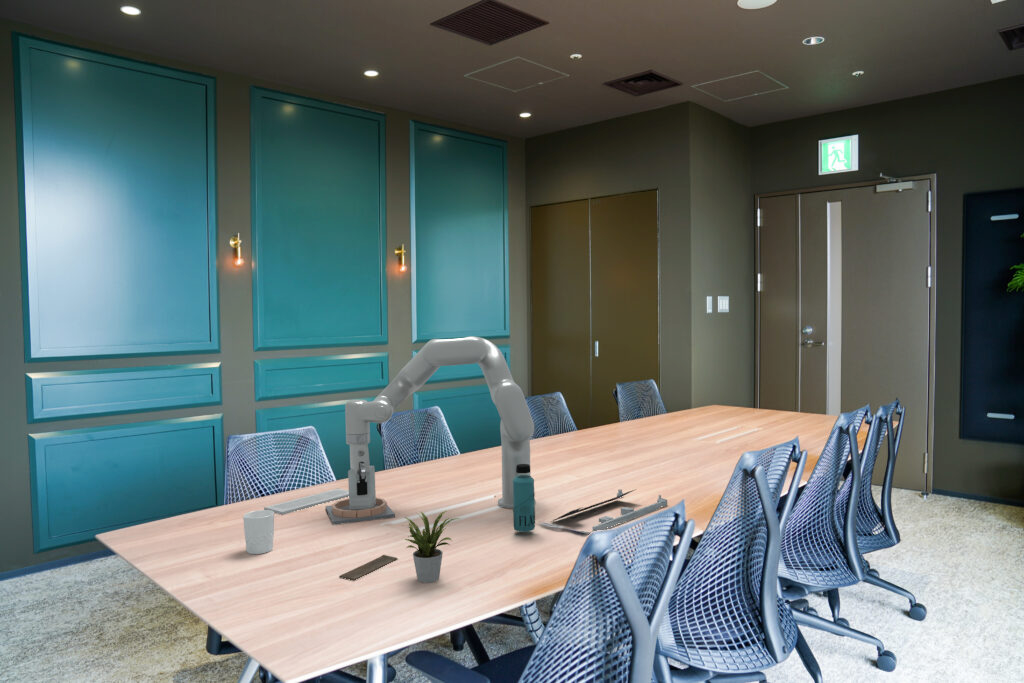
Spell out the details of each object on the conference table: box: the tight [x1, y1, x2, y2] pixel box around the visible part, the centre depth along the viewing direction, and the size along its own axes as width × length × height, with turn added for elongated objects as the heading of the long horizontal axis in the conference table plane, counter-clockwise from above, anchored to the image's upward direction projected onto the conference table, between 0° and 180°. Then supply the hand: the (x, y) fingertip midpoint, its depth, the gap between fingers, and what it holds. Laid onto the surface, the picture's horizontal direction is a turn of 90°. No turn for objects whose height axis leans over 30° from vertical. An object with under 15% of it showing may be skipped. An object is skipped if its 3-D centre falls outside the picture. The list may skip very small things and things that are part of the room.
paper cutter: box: [538, 488, 668, 535], centre depth 213 cm, size 18×45×6 cm, turn 136°
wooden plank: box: [338, 554, 398, 581], centre depth 171 cm, size 17×1×5 cm
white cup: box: [242, 509, 275, 555], centre depth 185 cm, size 8×8×10 cm
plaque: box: [263, 488, 349, 516], centre depth 235 cm, size 30×2×10 cm
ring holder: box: [325, 496, 396, 525], centre depth 220 cm, size 19×19×3 cm
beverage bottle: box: [512, 464, 536, 533], centre depth 196 cm, size 6×7×20 cm
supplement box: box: [347, 465, 377, 510], centre depth 220 cm, size 7×7×13 cm
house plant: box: [401, 510, 461, 584], centre depth 163 cm, size 14×14×16 cm
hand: (359, 491), depth 220 cm, fingers closed on supplement box, 9 cm apart
